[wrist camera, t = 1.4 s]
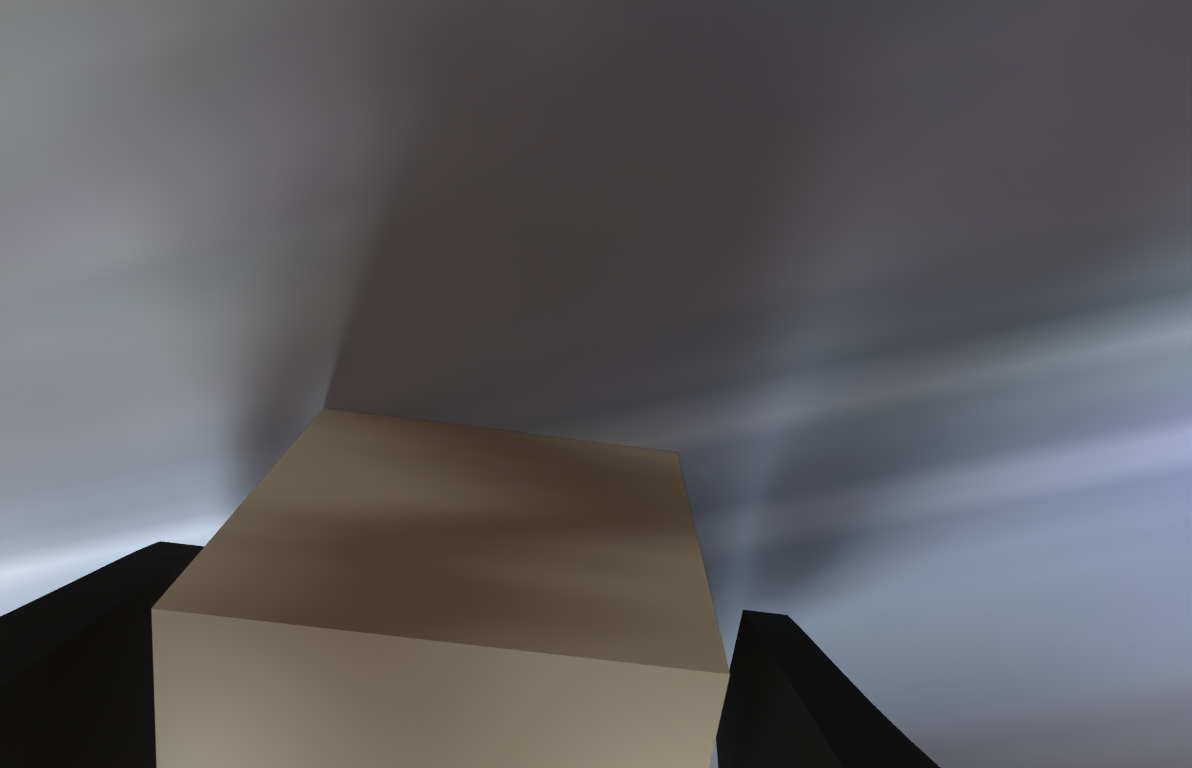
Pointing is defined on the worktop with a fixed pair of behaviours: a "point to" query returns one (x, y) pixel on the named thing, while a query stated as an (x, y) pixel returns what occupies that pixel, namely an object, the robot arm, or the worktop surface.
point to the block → (444, 609)
